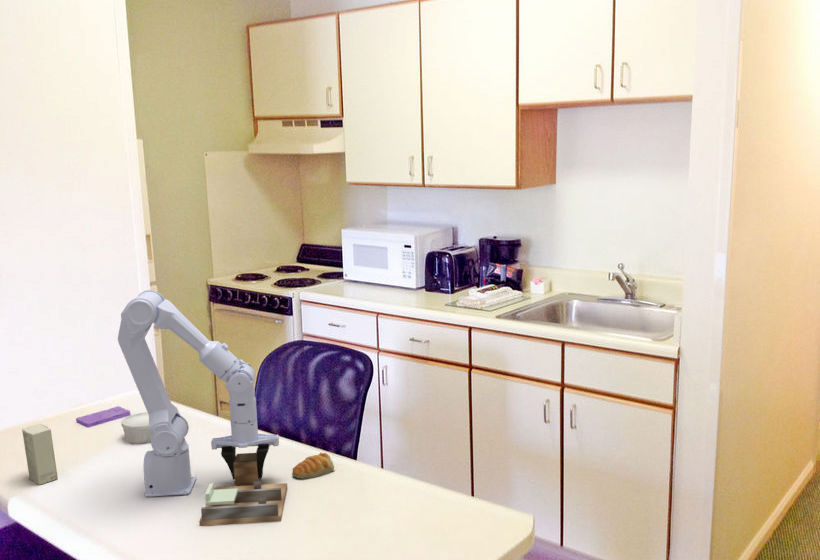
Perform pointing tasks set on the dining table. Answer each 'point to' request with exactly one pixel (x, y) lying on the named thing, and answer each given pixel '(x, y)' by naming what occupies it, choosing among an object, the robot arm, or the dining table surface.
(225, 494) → the cover
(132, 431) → the ramekin
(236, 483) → the brown block
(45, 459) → the skincare box
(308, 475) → the pastry
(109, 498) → the dining table surface
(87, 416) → the purple flat block
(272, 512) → the board
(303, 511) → the dining table surface
